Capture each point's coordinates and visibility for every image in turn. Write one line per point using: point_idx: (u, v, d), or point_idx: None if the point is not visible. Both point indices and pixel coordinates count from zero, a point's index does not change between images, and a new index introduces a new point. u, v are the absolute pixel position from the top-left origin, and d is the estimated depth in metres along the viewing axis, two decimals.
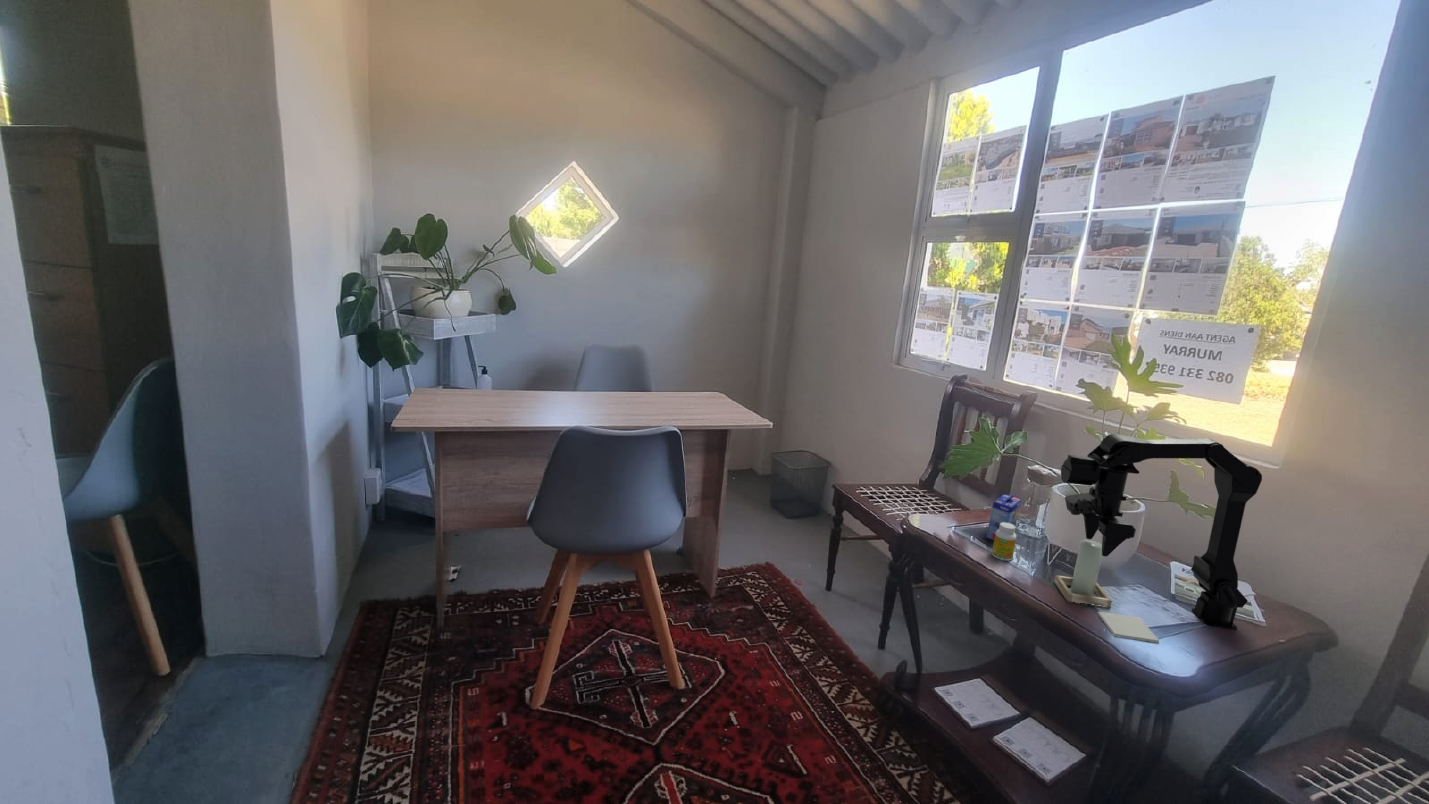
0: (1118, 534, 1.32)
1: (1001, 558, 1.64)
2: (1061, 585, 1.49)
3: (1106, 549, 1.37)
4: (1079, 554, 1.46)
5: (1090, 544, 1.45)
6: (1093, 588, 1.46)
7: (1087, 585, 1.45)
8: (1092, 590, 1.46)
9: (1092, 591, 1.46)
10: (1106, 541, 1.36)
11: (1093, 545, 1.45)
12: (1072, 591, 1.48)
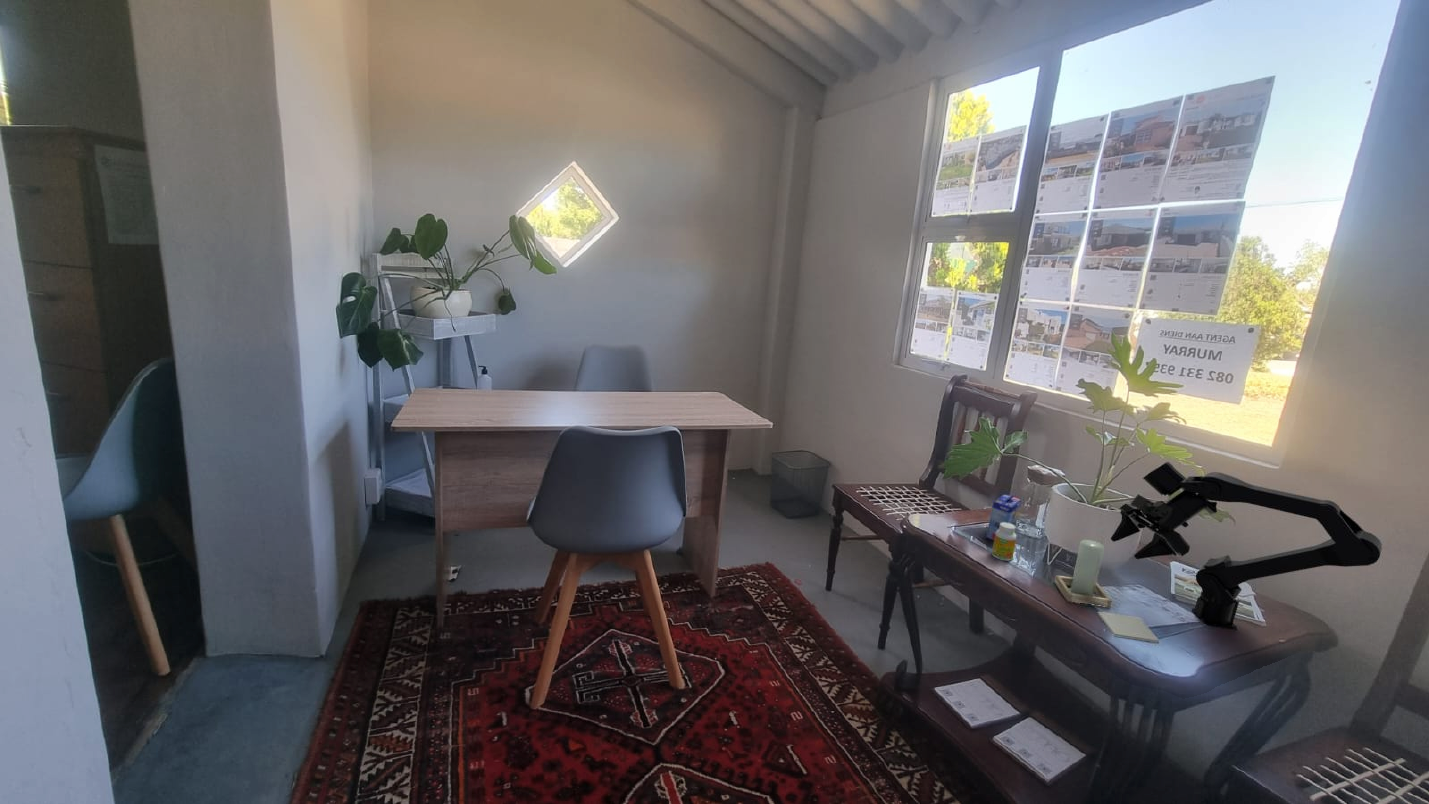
0: (1176, 546, 1.34)
1: (1001, 558, 1.64)
2: (1061, 585, 1.49)
3: (1143, 553, 1.39)
4: (1079, 554, 1.46)
5: (1090, 544, 1.45)
6: (1093, 588, 1.46)
7: (1087, 585, 1.45)
8: (1092, 590, 1.46)
9: (1092, 591, 1.46)
10: (1153, 547, 1.38)
11: (1093, 545, 1.45)
12: (1072, 591, 1.48)
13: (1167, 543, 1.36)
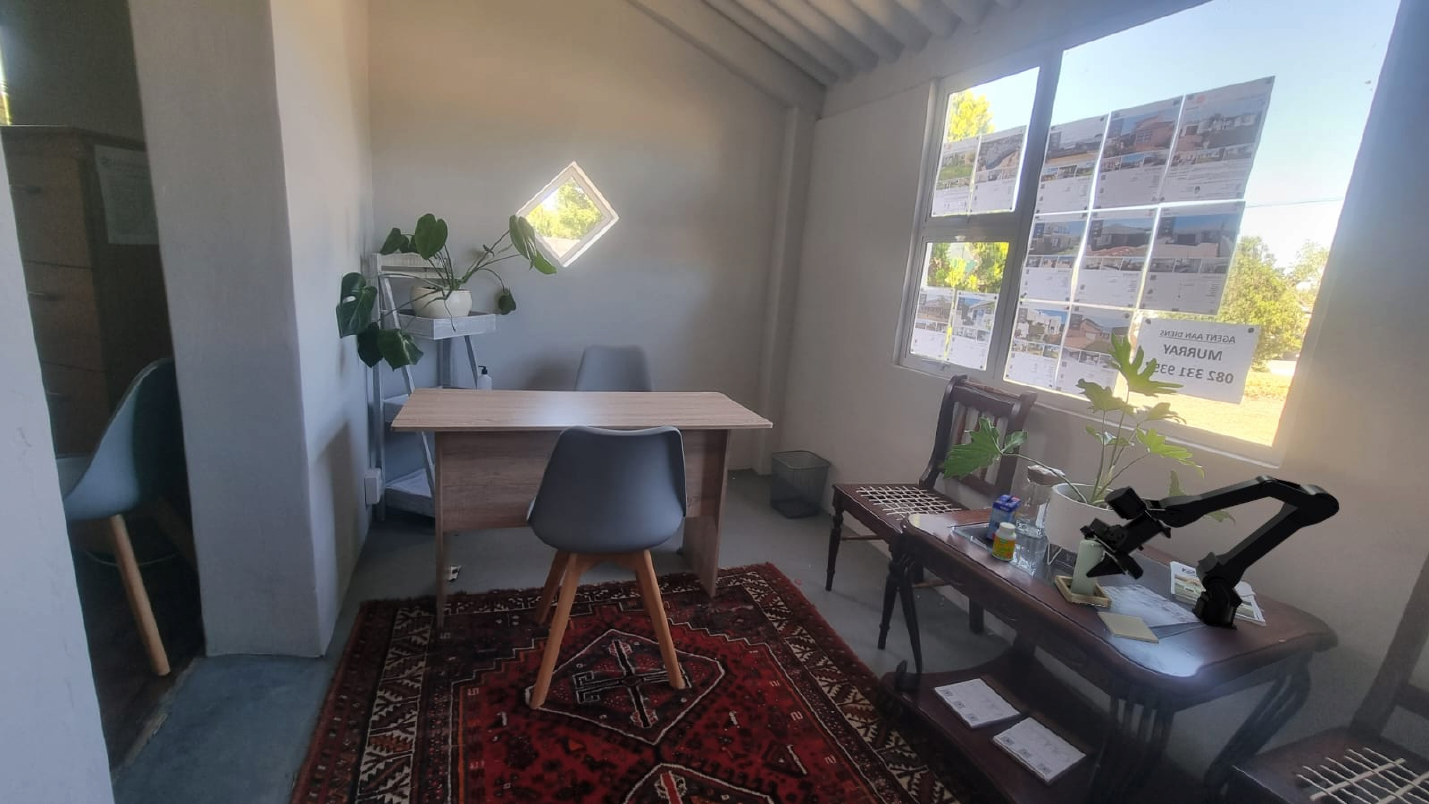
0: (1130, 570, 1.36)
1: (1001, 558, 1.64)
2: (1061, 585, 1.49)
3: (1094, 572, 1.43)
4: (1079, 554, 1.46)
5: (1090, 544, 1.45)
6: (1093, 588, 1.46)
7: (1087, 585, 1.45)
8: (1092, 590, 1.46)
9: (1092, 591, 1.46)
10: (1103, 566, 1.42)
11: (1093, 545, 1.45)
12: (1072, 591, 1.48)
13: (1116, 563, 1.40)
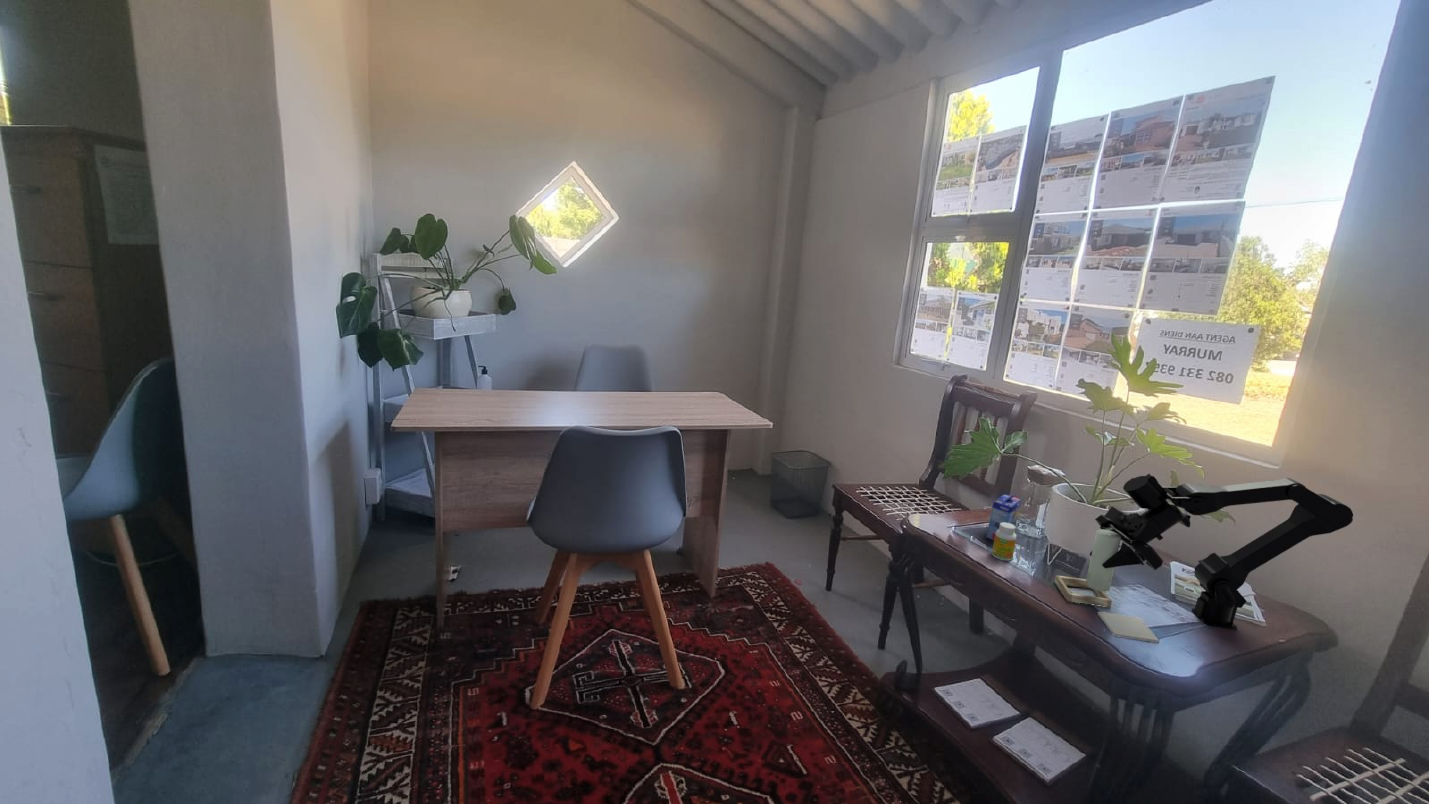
0: (1149, 560, 1.32)
1: (1001, 558, 1.64)
2: (1061, 585, 1.49)
3: (1111, 562, 1.39)
4: (1095, 544, 1.41)
5: (1106, 533, 1.40)
6: (1110, 579, 1.41)
7: (1103, 576, 1.40)
8: (1109, 581, 1.41)
9: (1109, 582, 1.41)
10: (1120, 556, 1.37)
11: (1110, 535, 1.40)
12: (1088, 582, 1.43)
13: (1134, 553, 1.35)
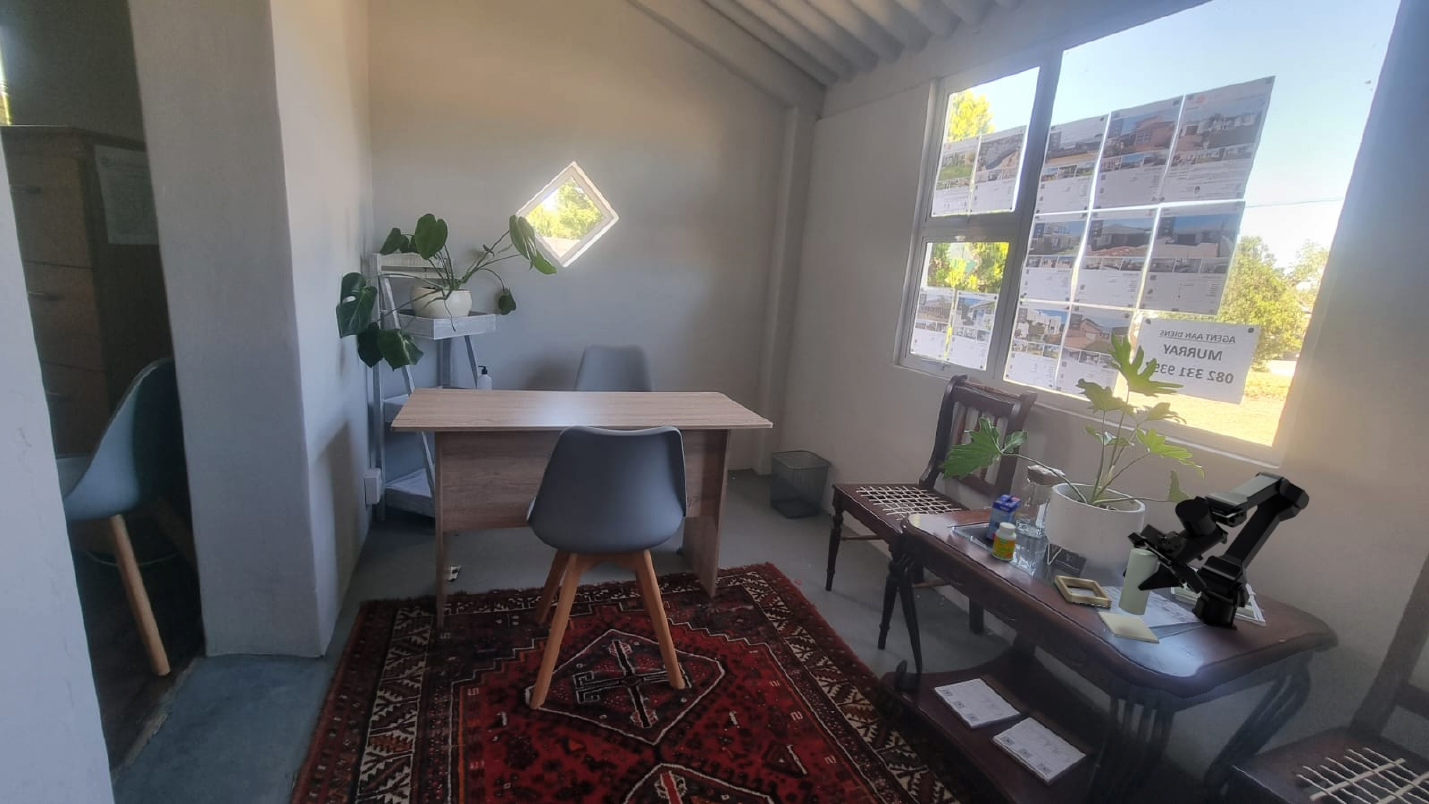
0: (1190, 583, 1.22)
1: (1001, 558, 1.64)
2: (1061, 585, 1.49)
3: (1147, 584, 1.29)
4: (1130, 564, 1.32)
5: (1142, 553, 1.31)
6: (1146, 602, 1.31)
7: (1139, 599, 1.31)
8: (1144, 604, 1.31)
9: (1144, 605, 1.31)
10: (1158, 578, 1.28)
11: (1146, 555, 1.30)
12: (1121, 605, 1.34)
13: (1174, 575, 1.25)
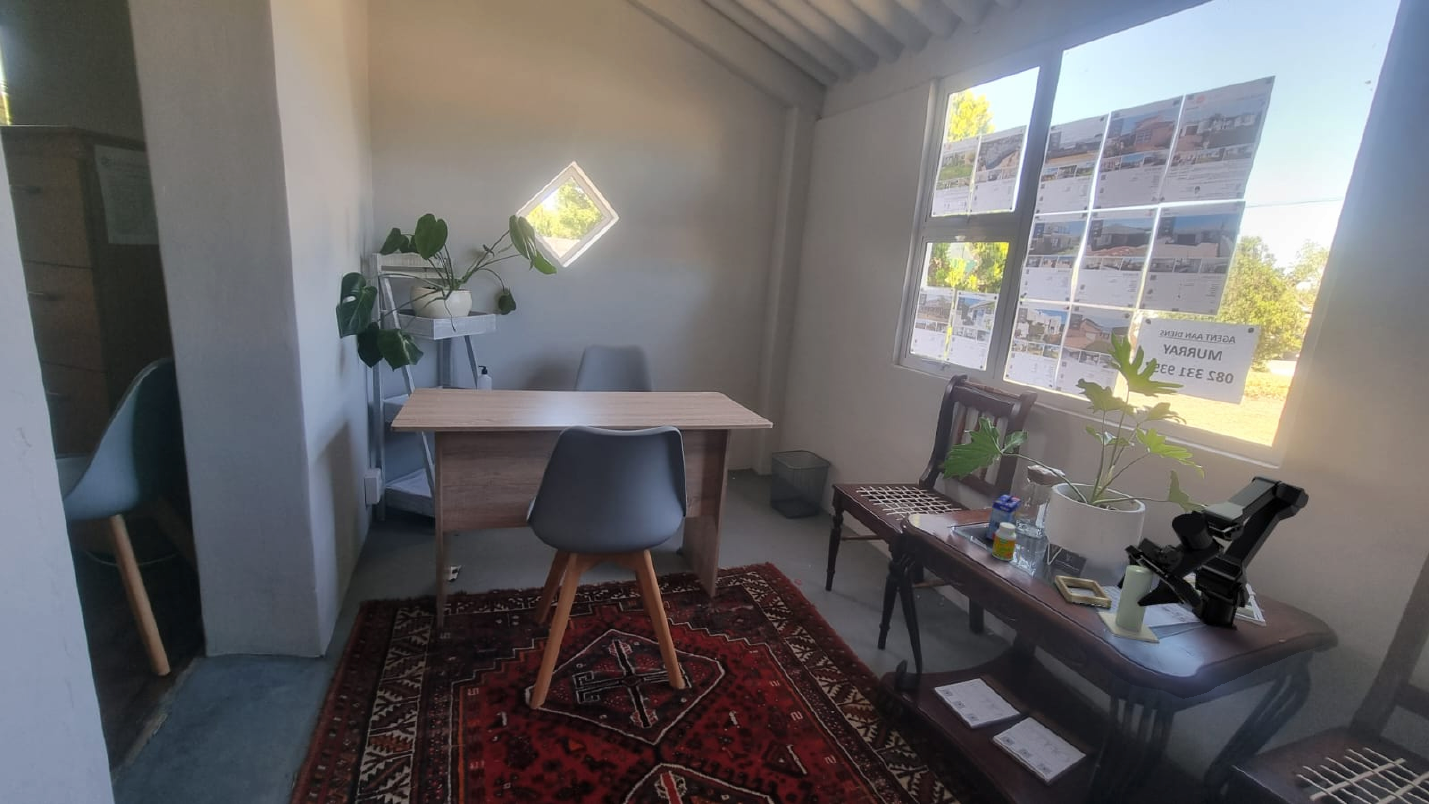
0: (1187, 597, 1.23)
1: (1001, 558, 1.64)
2: (1061, 585, 1.49)
3: (1147, 600, 1.29)
4: (1125, 581, 1.33)
5: (1138, 570, 1.32)
6: (1142, 619, 1.32)
7: (1135, 616, 1.32)
8: (1140, 621, 1.32)
9: (1140, 622, 1.32)
10: (1158, 594, 1.27)
11: (1142, 572, 1.31)
12: (1118, 622, 1.35)
13: (1173, 591, 1.25)
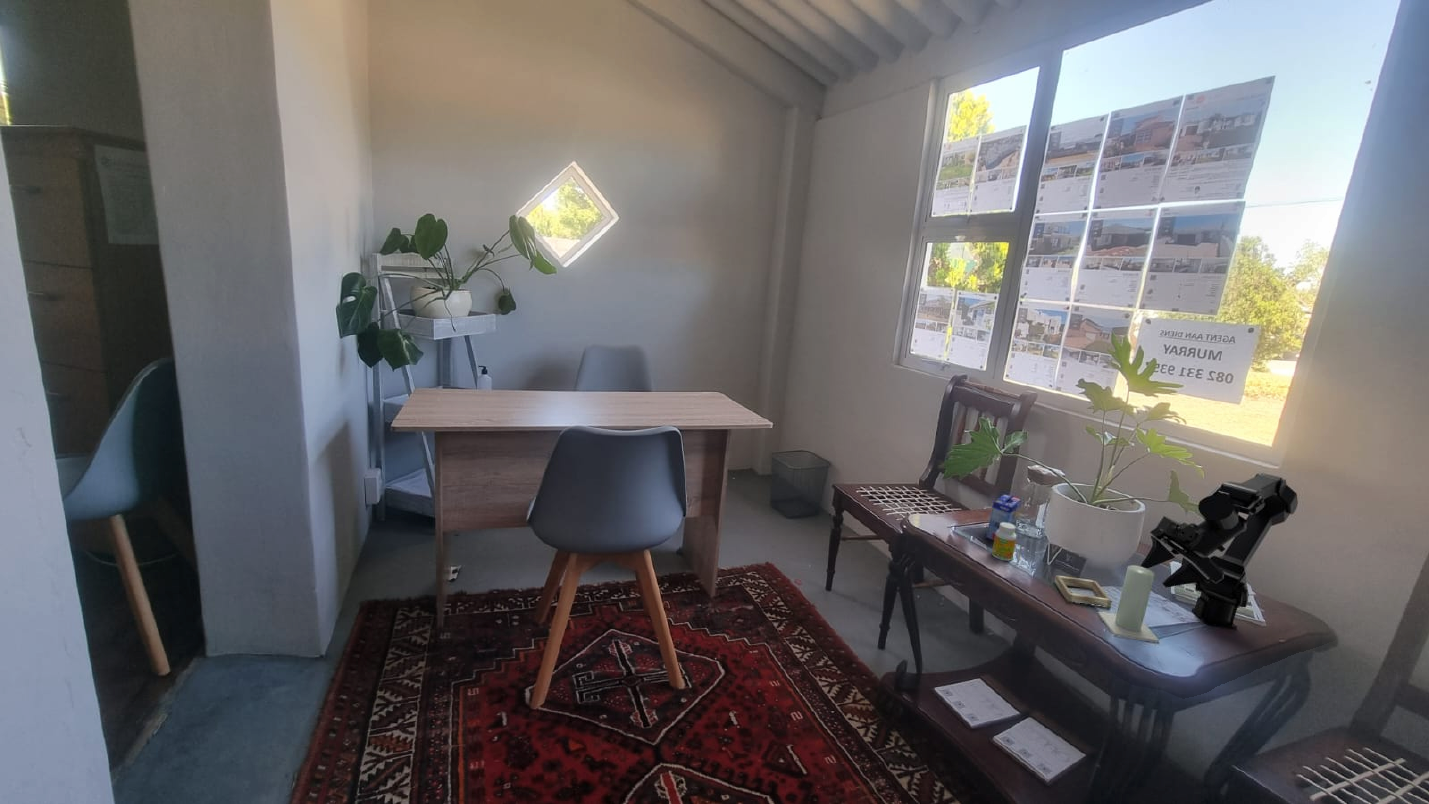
0: (1207, 571, 1.22)
1: (1001, 558, 1.64)
2: (1061, 585, 1.49)
3: (1172, 580, 1.28)
4: (1126, 581, 1.33)
5: (1138, 570, 1.32)
6: (1142, 619, 1.32)
7: (1135, 616, 1.32)
8: (1141, 621, 1.32)
9: (1141, 622, 1.32)
10: (1182, 573, 1.26)
11: (1142, 572, 1.31)
12: (1118, 622, 1.35)
13: (1196, 569, 1.24)
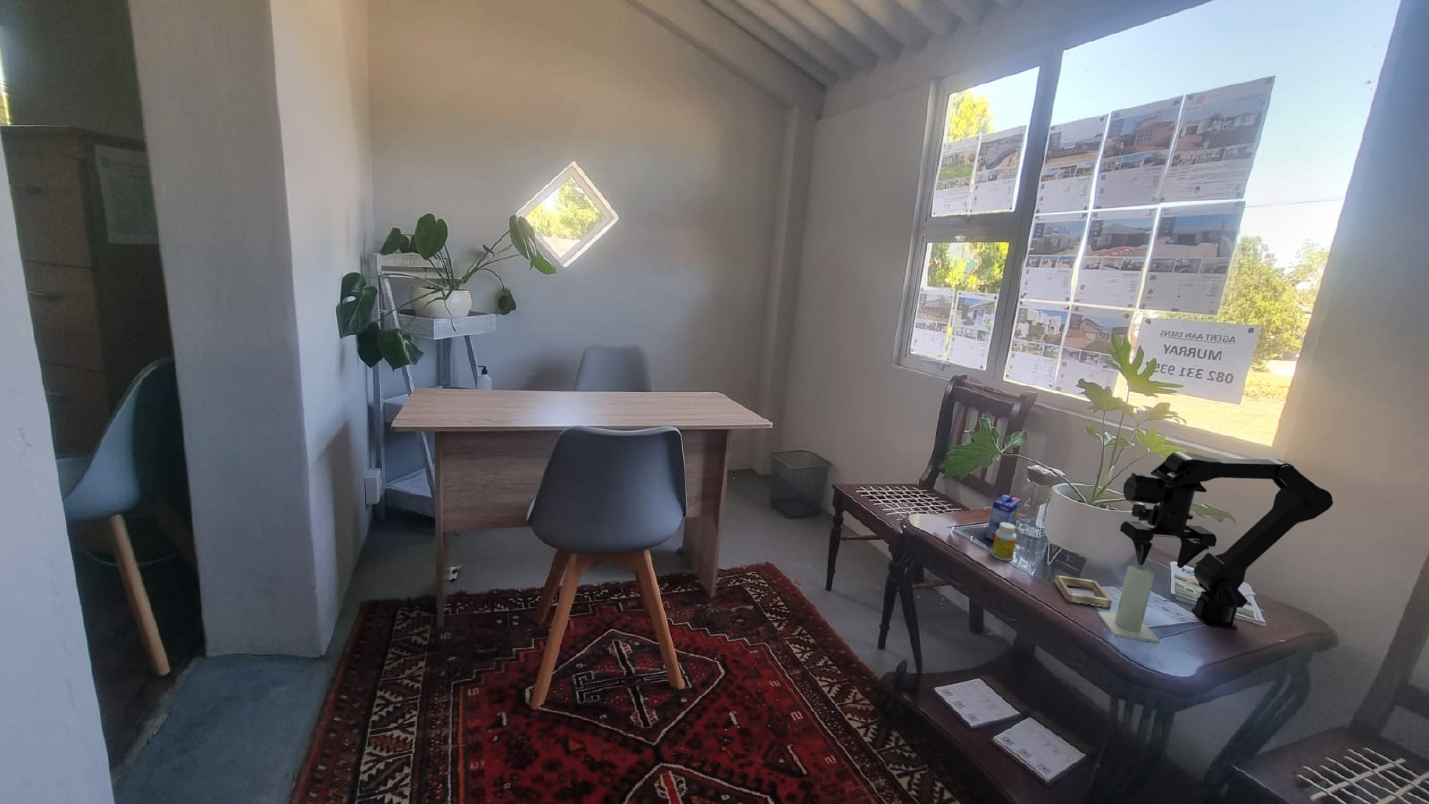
0: (1125, 533, 1.39)
1: (1001, 558, 1.64)
2: (1061, 585, 1.49)
3: (1138, 556, 1.40)
4: (1126, 581, 1.33)
5: (1138, 570, 1.32)
6: (1142, 619, 1.32)
7: (1135, 616, 1.32)
8: (1141, 621, 1.32)
9: (1141, 622, 1.32)
10: (1135, 546, 1.40)
11: (1142, 572, 1.31)
12: (1118, 622, 1.35)
13: None
